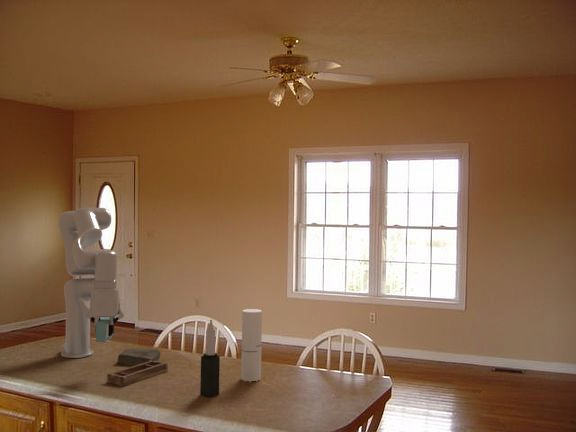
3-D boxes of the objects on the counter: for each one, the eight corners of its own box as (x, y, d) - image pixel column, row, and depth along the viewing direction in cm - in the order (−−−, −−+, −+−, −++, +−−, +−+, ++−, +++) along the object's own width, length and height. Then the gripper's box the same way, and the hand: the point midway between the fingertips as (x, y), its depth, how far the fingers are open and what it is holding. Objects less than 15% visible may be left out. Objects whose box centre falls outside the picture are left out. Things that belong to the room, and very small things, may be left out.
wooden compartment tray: (107, 382, 199) (107, 373, 199) (150, 367, 218) (151, 360, 218) (124, 386, 195) (124, 377, 195) (167, 371, 214) (167, 363, 214)
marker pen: (210, 398, 185) (212, 321, 185) (198, 395, 188) (200, 319, 187) (220, 393, 189) (221, 319, 189) (208, 391, 192) (210, 317, 192)
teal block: (95, 342, 201) (95, 322, 201) (103, 335, 211) (103, 317, 211) (105, 342, 201) (105, 322, 201) (113, 335, 211) (113, 317, 211)
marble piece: (151, 368, 219) (151, 358, 219) (113, 367, 219) (113, 356, 219) (162, 357, 235) (162, 347, 235) (127, 356, 236) (127, 346, 236)
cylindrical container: (264, 379, 207) (266, 310, 207) (250, 383, 202) (251, 313, 201) (251, 375, 212) (252, 308, 211) (237, 378, 206) (238, 310, 206)
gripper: (79, 286, 202) (78, 337, 202) (126, 286, 202) (125, 338, 203) (85, 283, 209) (84, 332, 210) (131, 284, 210) (130, 333, 210)
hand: (104, 334), depth 206 cm, fingers closed on teal block, 3 cm apart
